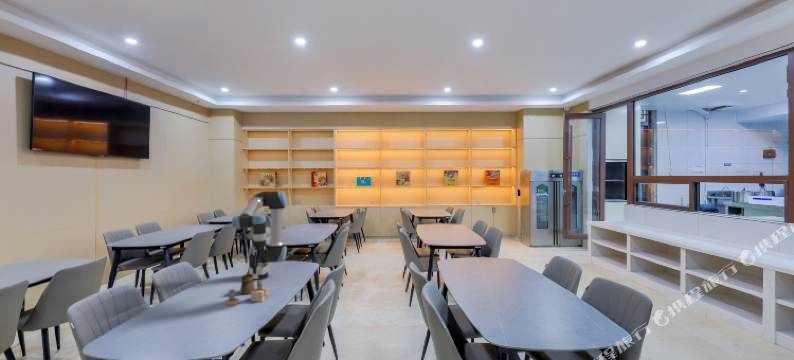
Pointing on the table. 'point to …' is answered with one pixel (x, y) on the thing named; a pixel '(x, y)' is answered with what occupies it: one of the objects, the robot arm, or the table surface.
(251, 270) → the square metal nut
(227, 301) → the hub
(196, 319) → the table surface
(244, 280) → the wooden mug
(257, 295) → the stand
